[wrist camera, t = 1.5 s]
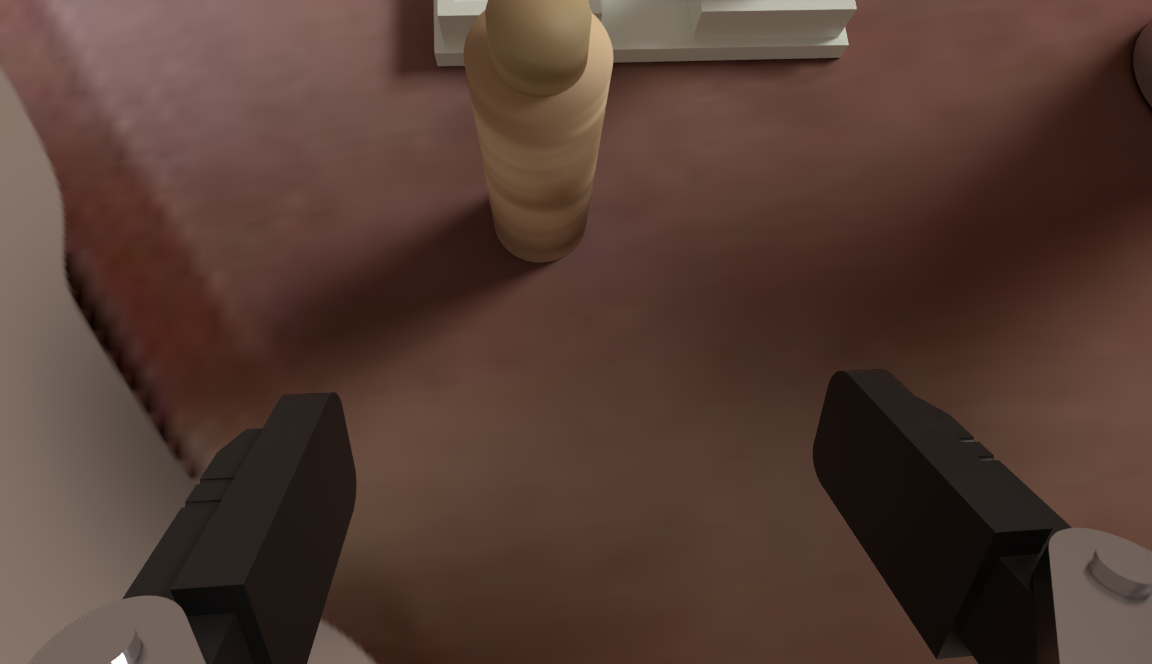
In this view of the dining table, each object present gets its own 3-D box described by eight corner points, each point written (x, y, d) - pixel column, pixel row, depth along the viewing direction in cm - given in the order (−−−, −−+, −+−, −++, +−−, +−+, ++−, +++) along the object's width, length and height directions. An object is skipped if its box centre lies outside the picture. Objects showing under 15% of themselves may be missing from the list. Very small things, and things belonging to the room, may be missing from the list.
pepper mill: (531, 161, 31) (523, -78, 18) (604, 211, 31) (651, 4, 17) (474, 227, 30) (422, 26, 17) (549, 280, 30) (555, 116, 16)
